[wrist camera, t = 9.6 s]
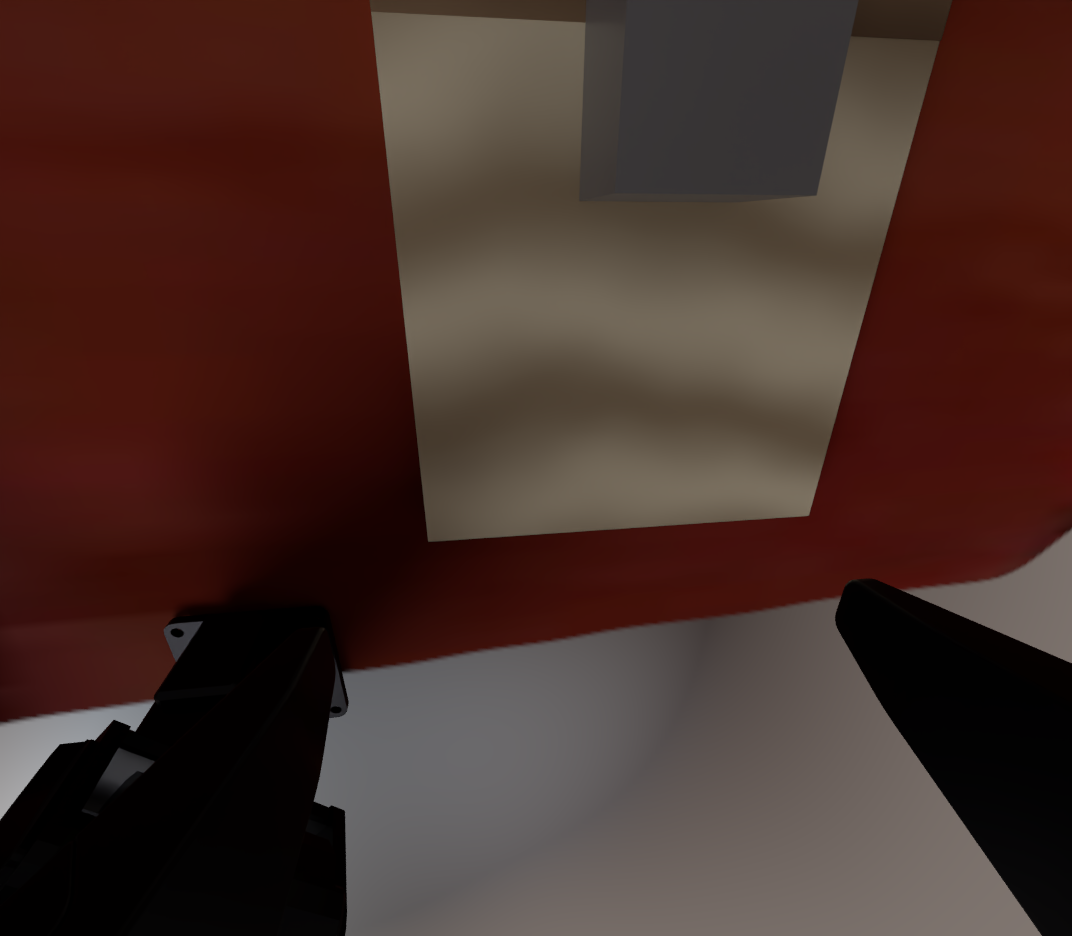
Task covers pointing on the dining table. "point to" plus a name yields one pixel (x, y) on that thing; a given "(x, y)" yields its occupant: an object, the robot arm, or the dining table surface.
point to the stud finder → (709, 98)
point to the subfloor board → (620, 283)
